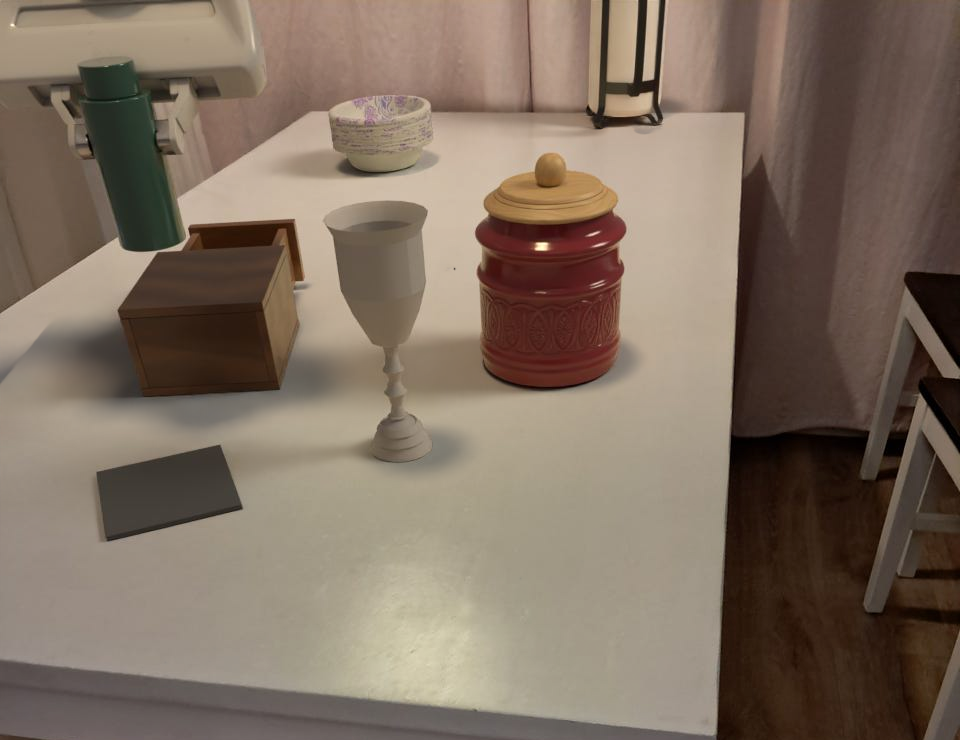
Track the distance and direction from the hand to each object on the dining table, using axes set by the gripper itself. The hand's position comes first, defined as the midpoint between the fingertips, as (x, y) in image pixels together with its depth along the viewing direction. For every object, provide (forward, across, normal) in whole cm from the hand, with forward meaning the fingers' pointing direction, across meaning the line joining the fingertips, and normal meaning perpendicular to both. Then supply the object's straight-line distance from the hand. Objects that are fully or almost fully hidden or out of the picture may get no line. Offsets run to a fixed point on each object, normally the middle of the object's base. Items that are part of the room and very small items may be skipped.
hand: (127, 153), depth 67 cm
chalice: (+20, +18, +10) cm, 29 cm away
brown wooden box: (+6, 0, +24) cm, 25 cm away
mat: (+23, 0, +7) cm, 24 cm away
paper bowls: (-41, +12, +71) cm, 83 cm away
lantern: (-54, +52, +84) cm, 113 cm away
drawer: (-4, 0, +33) cm, 33 cm away
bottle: (+4, 0, +5) cm, 6 cm away
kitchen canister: (+9, +32, +21) cm, 39 cm away
